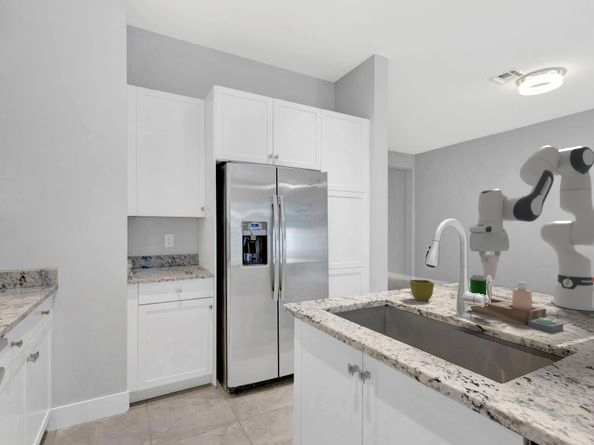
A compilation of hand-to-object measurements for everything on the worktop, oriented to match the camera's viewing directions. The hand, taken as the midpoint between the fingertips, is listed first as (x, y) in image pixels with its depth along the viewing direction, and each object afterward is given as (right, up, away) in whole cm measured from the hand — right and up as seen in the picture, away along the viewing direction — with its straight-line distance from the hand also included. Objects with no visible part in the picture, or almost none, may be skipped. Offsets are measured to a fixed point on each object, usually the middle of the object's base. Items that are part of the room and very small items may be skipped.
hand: (489, 262), depth 133 cm
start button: (+6, -20, -22) cm, 31 cm away
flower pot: (-19, -21, +24) cm, 37 cm away
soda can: (+9, -22, +24) cm, 33 cm away
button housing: (+6, -21, -22) cm, 31 cm away
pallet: (+2, -21, -6) cm, 22 cm away
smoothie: (0, -7, 0) cm, 7 cm away
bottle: (+5, -20, -12) cm, 24 cm away
